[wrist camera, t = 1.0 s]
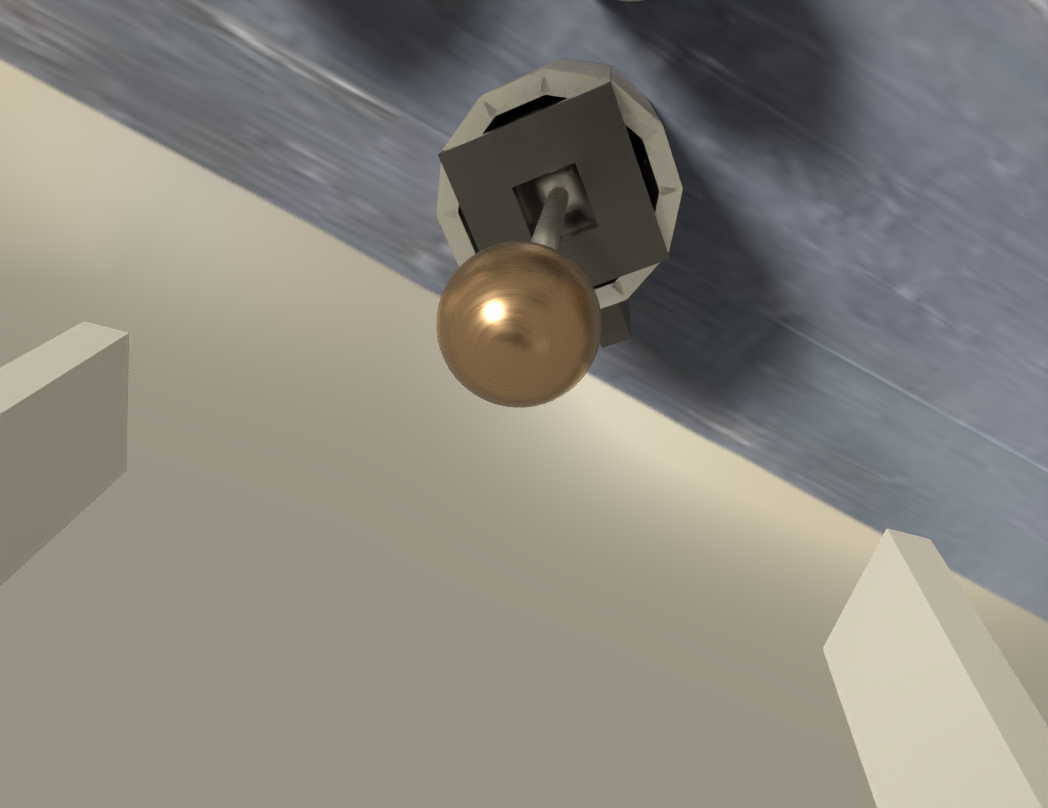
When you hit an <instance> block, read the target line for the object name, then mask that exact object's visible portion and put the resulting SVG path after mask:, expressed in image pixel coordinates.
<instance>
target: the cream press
mask: <svg viewBox="0 0 1048 808" xmlns="http://www.w3.org/2000/svg"><path fill="white" fill-rule="evenodd" d="M619 1H628V2H634V1H643V0H619Z"/></svg>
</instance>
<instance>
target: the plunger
mask: <svg viewBox="0 0 1048 808" xmlns="http://www.w3.org/2000/svg"><path fill="white" fill-rule="evenodd" d="M542 109H544V108H542ZM539 110H541V109H538V110H535V111H532V112H529V113H527V114H525V115H523V116H521V117H519V118H517V119H520V118H522V117H525V116H527V115H529V114H532V113H534V112H536V111H539ZM517 119H516V120H517ZM514 121H515V120H514ZM637 161H638V160H637ZM638 164H639V162H638ZM639 167H640V165H639ZM640 170H641V169H640ZM516 188H517V190H518V193H519V196H520V198H521V201H522V203H523V206H524V208H525V211H526V213H527V216H528V218H529V221H530V223H531V226H532V228H533V231H534V234H533V237H532V239H531V242H525V241H512V242H506V243H500V244H497V245H494V246H490V247H488V248H485V249H483V250H481V251H479V252H478V253H476V254H474V255H473V256H471V257H470V258H469V259H468V260H466V261H465V262H464V263H463V264H462V265H461V266H460V267H459V268H458V269H457V270H456V271H455V273H454V274H453V275H452V277H451V278H450V280H449V281H448V283H447V285H446V287H445V289H444V291H443V293H442V296H441V299H440V302H439V305H438V311H437V338H438V343H439V347H440V350H441V353H442V355H443V358H444V360H445V362H446V364H447V366H448V367H449V369H450V371H451V372H452V373H453V375H454V376H455V378H456V379H457V380H458V381H459V382H460V383H461V384H462V385H463V386H464V387H466V388H467V389H468V390H469V391H471V392H472V393H473V394H475V395H477V396H478V397H480V398H482V399H484V400H486V401H489V402H492V403H494V404H498V405H502V406H507V407H532V406H537V405H541V404H545V403H547V402H550V401H553V400H555V399H556V398H558V397H560V396H562V395H564V394H565V393H566V392H568V391H569V390H571V389H572V388H573V387H574V386H575V385H576V384H577V383H578V382H579V381H580V380H581V379H582V378H583V377H584V375H585V374H586V373H587V371H588V370H589V368H590V366H591V365H592V363H593V361H594V359H595V356H596V354H597V351H598V348H599V344H600V340H601V332H602V316H601V310H600V304H599V301H598V298H597V294H596V292H595V290H594V288H593V286H592V284H591V282H590V281H589V279H588V278H587V276H586V275H585V274H584V272H583V271H582V270H581V269H580V268H579V266H578V265H576V264H575V263H574V262H573V261H572V260H571V259H570V258H568V257H567V256H565V255H564V254H563V253H561V252H559V251H557V247H558V242H559V238H560V236H561V235H564V234H567V233H569V232H572V231H575V230H577V229H580V228H583V227H585V226H588V225H590V224H593V223H596V222H597V221H596V218H595V216H594V213H593V210H592V207H591V205H590V202H589V199H588V196H587V194H586V191H585V188H584V185H583V183H582V180H581V177H580V174H579V172H578V169H577V166H576V163H573V164H570V165H568V166H565V167H562V168H560V169H557V170H555V171H552V172H550V173H547V174H545V175H542V176H540V177H537V178H535V179H532V180H530V181H527V182H525V183H522V184H520V185H517V186H516Z"/></svg>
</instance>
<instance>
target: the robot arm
mask: <svg viewBox="0 0 1048 808" xmlns="http://www.w3.org/2000/svg"><path fill="white" fill-rule="evenodd" d="M128 351H129V333H127V332H123V331H119V330H115V329H111V328H107V327H104V326H99V325H96V324H92V323H88V322H82V323H80V324H78V325H77V326H75V327H73V328H71V329H69V330H68V331H66V332H64V333H62V334H60V335H59V336H57V337H55V338H53V339H52V340H50V341H48V342H46V343H44V344H42V345H41V346H39V347H37V348H35V349H33V350H32V351H30V352H28V353H26V354H24V355H23V356H21V357H19V358H17V359H15V360H13V361H12V362H10V363H8V364H6V365H4V366H3V367H1V368H0V586H1V585H2V584H3V583H4V582H5V581H6V580H7V579H8V578H10V577H11V576H12V575H13V574H14V573H15V572H16V571H17V570H18V569H20V568H21V567H22V566H23V565H24V564H25V563H26V562H27V561H28V560H29V559H31V557H33V556H34V555H35V554H36V553H37V552H38V551H39V550H40V549H41V548H43V546H45V545H46V544H47V543H48V542H49V541H50V540H51V539H52V538H53V537H55V536H56V535H57V534H58V533H59V532H60V531H61V530H62V529H63V528H65V527H66V526H67V525H68V524H69V523H70V522H71V521H72V520H73V519H74V518H76V517H77V516H78V515H79V514H80V513H81V512H82V511H83V510H84V509H85V508H86V507H87V506H89V505H90V504H91V503H92V502H93V501H94V500H95V499H96V498H97V497H99V496H100V495H101V494H102V493H103V492H104V491H105V490H106V489H107V488H108V487H110V486H111V485H112V484H113V483H114V482H115V481H116V480H117V479H118V478H119V477H120V476H122V475H123V474H124V473H125V472H126V468H127V410H128V409H127V408H128ZM823 651H824V654H825V657H826V660H827V662H828V665H829V668H830V671H831V674H832V677H833V680H834V683H835V686H836V689H837V692H838V695H839V698H840V701H841V703H842V706H843V709H844V712H845V715H846V718H847V721H848V724H849V727H850V730H851V732H852V736H853V739H854V741H855V744H856V747H857V750H858V753H859V756H860V759H861V762H862V765H863V768H864V771H865V773H866V776H867V779H868V782H869V785H870V788H871V791H872V794H873V797H874V800H875V802H876V806H877V808H1048V726H1047V724H1046V722H1045V721H1044V719H1043V718H1042V716H1041V714H1040V713H1039V711H1038V710H1037V708H1036V706H1035V705H1034V703H1033V702H1032V700H1031V698H1030V697H1029V695H1028V694H1027V692H1026V691H1025V689H1024V688H1023V686H1022V684H1021V683H1020V681H1019V679H1018V678H1017V676H1016V675H1015V673H1014V671H1013V670H1012V668H1011V667H1010V665H1009V664H1008V662H1007V660H1006V659H1005V657H1004V656H1003V654H1002V652H1001V651H1000V649H999V648H998V646H997V645H996V643H995V641H994V640H993V638H992V637H991V635H990V633H989V632H988V630H987V628H986V627H985V625H984V624H983V622H982V621H981V619H980V617H979V616H978V614H977V613H976V611H975V609H974V608H973V606H972V605H971V603H970V602H969V600H968V598H967V597H966V595H965V594H964V592H963V590H962V589H961V587H960V586H959V584H958V583H957V581H956V579H955V578H954V576H953V574H952V573H951V571H950V570H949V568H948V566H947V565H946V563H945V562H944V560H943V558H942V557H941V555H940V554H939V552H938V550H937V549H936V547H935V546H934V544H933V543H932V541H931V539H927V538H923V537H919V536H915V535H912V534H908V533H904V532H900V531H896V530H892V529H888V528H887V529H886V531H885V533H884V534H883V536H882V538H881V540H880V542H879V544H878V546H877V548H876V550H875V551H874V553H873V555H872V557H871V559H870V561H869V563H868V565H867V567H866V568H865V570H864V572H863V574H862V576H861V578H860V580H859V582H858V583H857V585H856V587H855V589H854V591H853V593H852V595H851V597H850V598H849V600H848V602H847V604H846V606H845V608H844V610H843V612H842V614H841V616H840V617H839V619H838V621H837V623H836V625H835V627H834V629H833V631H832V633H831V634H830V636H829V638H828V640H827V642H826V644H825V645H824V648H823Z"/></svg>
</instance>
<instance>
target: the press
mask: <svg viewBox="0 0 1048 808" xmlns="http://www.w3.org/2000/svg"><path fill="white" fill-rule="evenodd" d="M542 108H544V109H542ZM538 109H541V110H539V111H536V112H534V113H532V114H529V115H527V116H525V117H522V118H520V119H517V118H519V117H521V116H523V115H525V114H527V113H529V112H532V111H535V110H538ZM516 119H517V120H516ZM514 120H515V121H514ZM438 156H439V158H440V161H441V170H440V181H439V192H438V203H437V214H436V215H437V218H438V220H439V222H440V225H441V227H442V229H443V231H444V234H445V236H446V238H447V240H448V243H449V245H450V247H451V250H452V252H453V254H454V256H455V259H456V261H457V263H458V266H459V267H460V266H461V265H462V264H463V263H464V262H465V261H466V260H468V259H469V258H470V257H471V256H473V255H474V254H476V253H478V252H479V251H481V250H483V249H485V248H488V247H490V246H494V245H497V244H500V243H506V242H512V241H525V242H531V239H532V237H533V234H534V231H533V228H532V226H531V223H530V221H529V218H528V216H527V213H526V211H525V208H524V206H523V203H522V201H521V198H520V196H519V193H518V190H517V188H516V186H517V185H520V184H522V183H525V182H527V181H530V180H532V179H535V178H537V177H540V176H542V175H545V174H547V173H550V172H552V171H555V170H557V169H560V168H562V167H565V166H568V165H570V164H573V163H576V166H577V169H578V172H579V174H580V177H581V180H582V183H583V185H584V188H585V191H586V194H587V196H588V199H589V202H590V205H591V207H592V210H593V213H594V216H595V218H596V221H597V222H596V223H593V224H590V225H588V226H585V227H583V228H580V229H577V230H575V231H572V232H569V233H567V234H564V235H561V236H560V238H559V242H558V247H557V251H559V252H561V253H563V254H564V255H565V256H567V257H568V258H570V259H571V260H572V261H573V262H574V263H575V264H576V265H578V266H579V268H580V269H581V270H582V271H583V272H584V274H585V275H586V276H587V278H588V279H589V281H590V282H591V284H592V286H593V288H594V290H595V292H596V294H597V298H598V301H599V304H600V310H601V316H602V332H601V340H600V343H601V346H602V348H603V347H605V346H608V345H611V344H614V343H617V342H620V341H623V340H626V339H629V338H631V329H630V315H629V301H628V298H629V297H630V296H631V294H632V293H633V292H634V291H635V290H636V289H637V288H638V287H639V286H640V284H641V283H642V282H643V281H644V280H645V279H646V278H647V277H648V275H649V274H650V273H651V272H652V271H653V270H654V269H655V268H656V267H657V265H658V264H659V263H660V262H663V261H666V260H669V259H670V258H669V254H668V252H669V249H670V245H671V240H672V236H673V231H674V227H675V222H676V218H677V213H678V209H679V204H680V200H681V195H682V191H683V188H682V184H681V181H680V178H679V175H678V172H677V169H676V165H675V162H674V159H673V156H672V153H671V150H670V147H669V143H668V140H667V137H666V134H665V131H664V128H663V125H662V123H661V121H660V119H659V118H658V116H657V114H656V112H655V111H654V109H653V107H652V105H651V104H650V102H649V100H648V98H647V97H646V96H645V95H644V94H643V93H641V92H640V91H639V90H638V89H637V88H636V87H635V86H634V85H632V84H631V83H630V82H629V81H628V80H627V79H626V78H624V77H623V76H622V75H621V74H620V73H619V72H618V71H616V70H615V69H614V68H613V67H612V66H610V65H606V64H599V63H593V62H586V61H580V60H574V59H567V58H561V59H559V60H557V61H554V62H552V63H550V64H547V65H545V66H543V67H540V68H538V69H536V70H534V71H531V72H529V73H527V74H524V75H522V76H520V77H518V78H516V79H514V80H512V81H510V82H508V83H506V84H504V85H502V86H500V87H498V88H496V89H494V90H492V91H490V92H488V93H486V94H484V95H482V96H480V98H479V99H478V100H477V102H476V103H475V105H474V106H473V108H472V109H471V110H470V112H469V113H468V115H467V116H466V118H465V119H464V120H463V122H462V123H461V125H460V126H459V127H458V129H457V130H456V132H455V133H454V135H453V136H452V137H451V139H450V140H449V142H448V143H447V144H446V146H445V147H444V149H443V151H442V152H441V153H439V154H438ZM637 160H638V161H637ZM638 162H639V164H638ZM639 165H640V167H639ZM640 169H641V170H640Z"/></svg>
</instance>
